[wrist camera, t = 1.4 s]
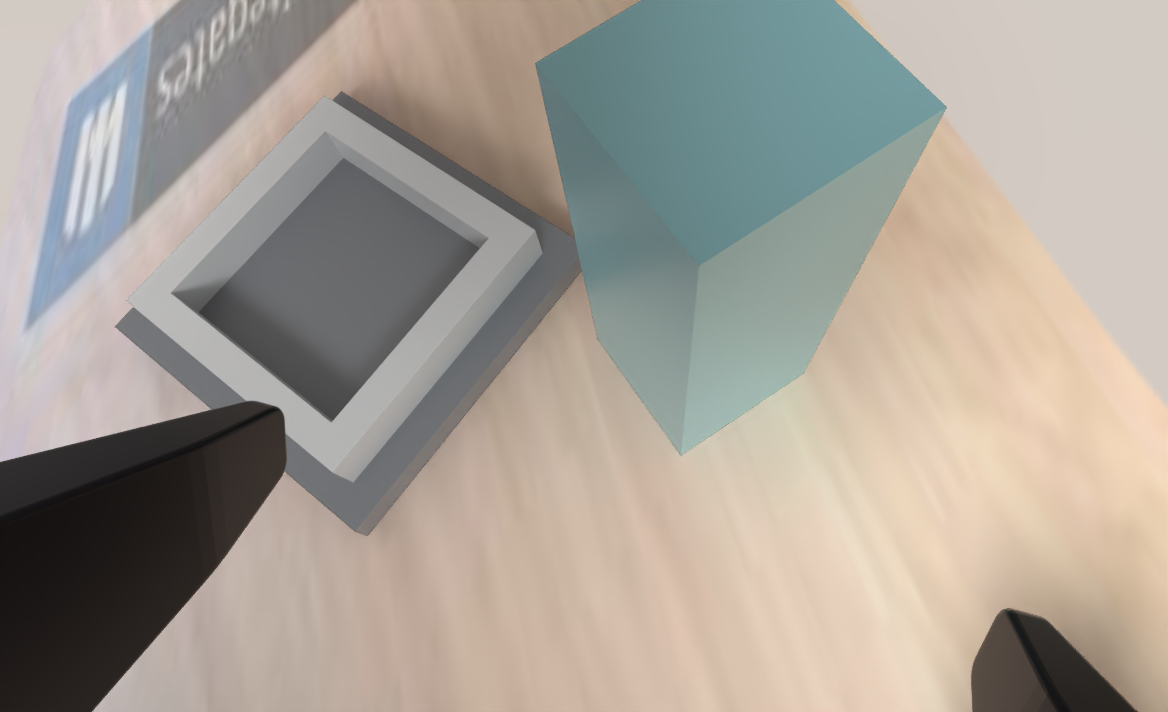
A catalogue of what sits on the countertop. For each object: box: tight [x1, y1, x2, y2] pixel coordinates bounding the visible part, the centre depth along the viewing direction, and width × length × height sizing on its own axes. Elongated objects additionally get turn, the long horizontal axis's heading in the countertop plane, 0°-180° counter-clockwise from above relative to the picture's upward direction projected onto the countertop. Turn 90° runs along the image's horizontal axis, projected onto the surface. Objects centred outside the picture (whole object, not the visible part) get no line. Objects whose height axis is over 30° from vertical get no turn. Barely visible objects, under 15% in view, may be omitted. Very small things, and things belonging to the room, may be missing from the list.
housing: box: [535, 0, 947, 455], centre depth 18 cm, size 4×4×12 cm
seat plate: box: [115, 91, 582, 536], centre depth 24 cm, size 11×11×2 cm
